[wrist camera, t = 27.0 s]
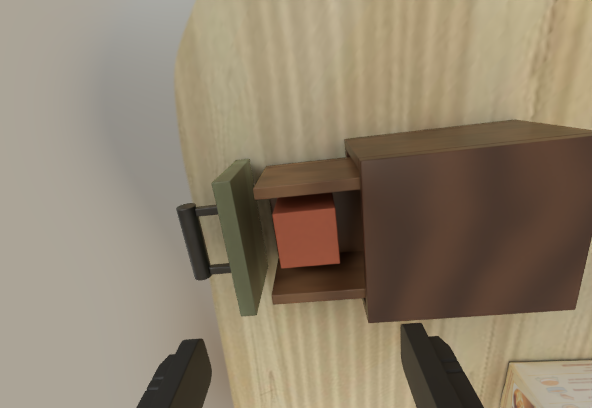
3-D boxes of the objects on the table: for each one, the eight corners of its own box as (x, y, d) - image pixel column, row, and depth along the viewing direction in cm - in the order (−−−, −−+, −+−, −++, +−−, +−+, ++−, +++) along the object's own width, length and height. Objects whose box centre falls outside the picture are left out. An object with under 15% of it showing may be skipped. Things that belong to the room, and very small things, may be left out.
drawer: (216, 270, 30) (190, 320, 23) (190, 165, 26) (152, 189, 20) (389, 256, 28) (412, 304, 22) (387, 143, 25) (414, 161, 18)
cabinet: (352, 260, 30) (368, 323, 21) (344, 138, 26) (360, 160, 18) (500, 248, 28) (575, 310, 20) (515, 119, 25) (616, 133, 16)
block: (285, 241, 27) (281, 269, 23) (278, 194, 25) (271, 214, 21) (335, 237, 27) (340, 263, 22) (331, 188, 25) (335, 207, 21)
